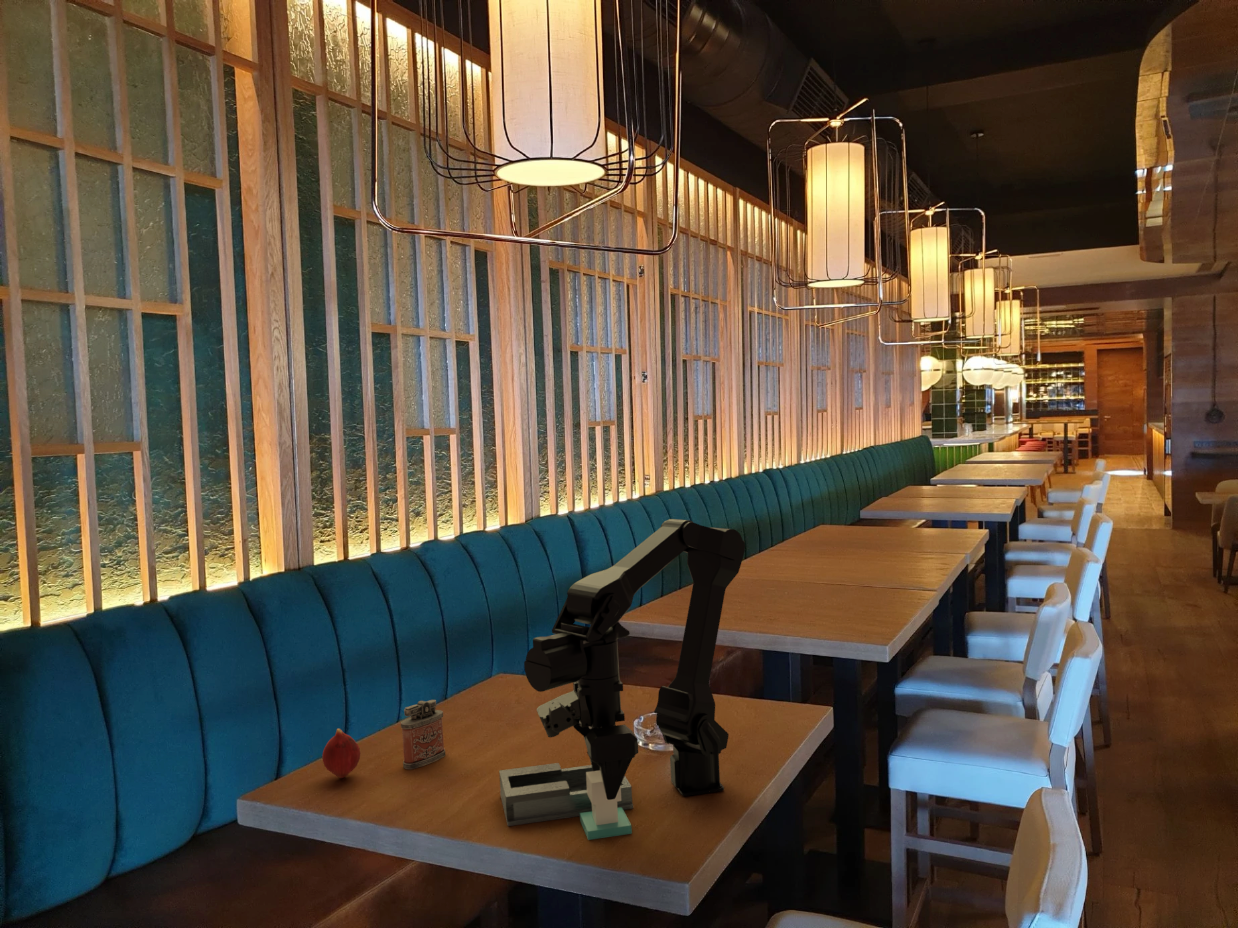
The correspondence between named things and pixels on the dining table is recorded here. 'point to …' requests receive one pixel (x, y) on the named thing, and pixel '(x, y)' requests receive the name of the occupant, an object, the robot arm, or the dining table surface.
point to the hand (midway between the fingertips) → (604, 785)
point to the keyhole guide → (549, 793)
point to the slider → (603, 811)
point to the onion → (341, 754)
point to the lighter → (422, 735)
